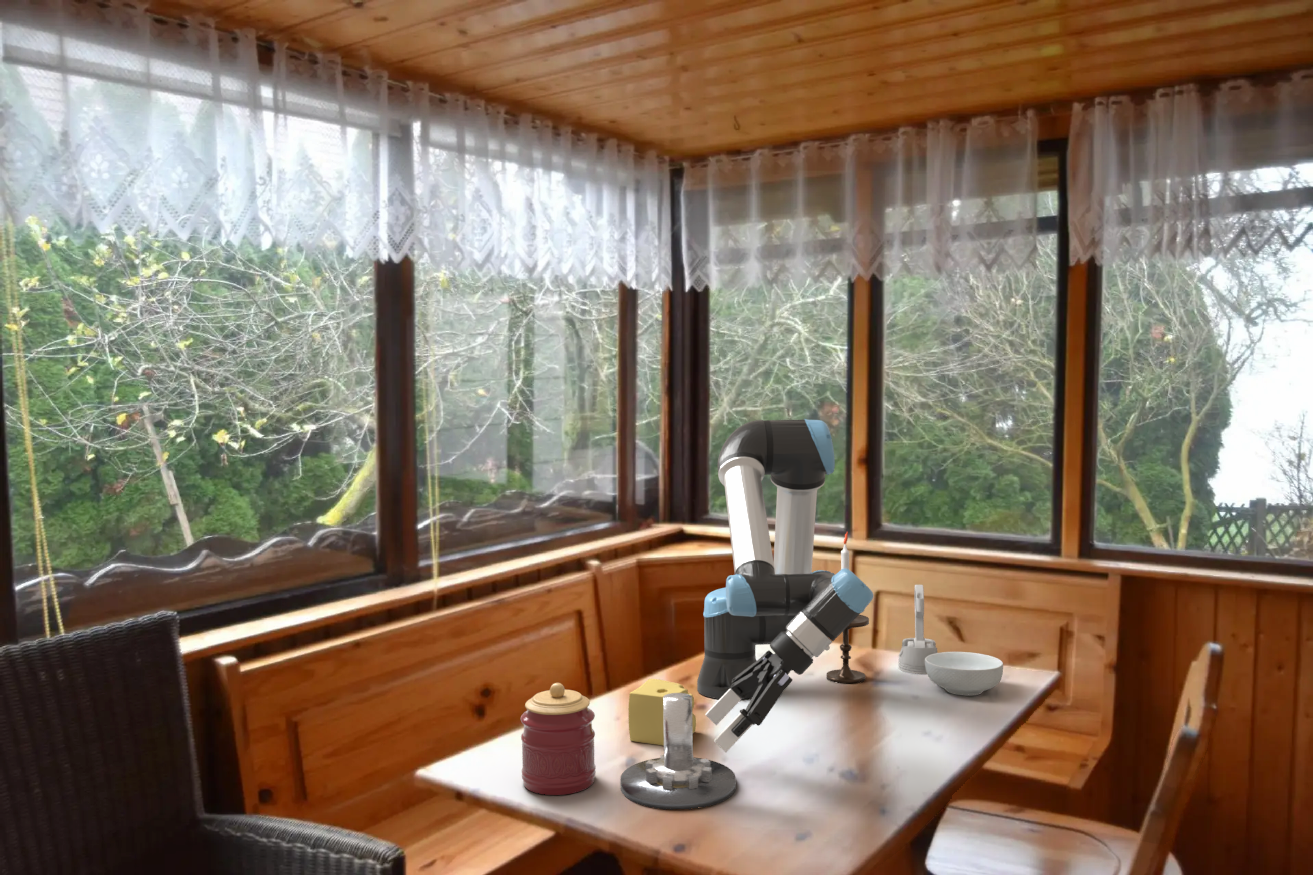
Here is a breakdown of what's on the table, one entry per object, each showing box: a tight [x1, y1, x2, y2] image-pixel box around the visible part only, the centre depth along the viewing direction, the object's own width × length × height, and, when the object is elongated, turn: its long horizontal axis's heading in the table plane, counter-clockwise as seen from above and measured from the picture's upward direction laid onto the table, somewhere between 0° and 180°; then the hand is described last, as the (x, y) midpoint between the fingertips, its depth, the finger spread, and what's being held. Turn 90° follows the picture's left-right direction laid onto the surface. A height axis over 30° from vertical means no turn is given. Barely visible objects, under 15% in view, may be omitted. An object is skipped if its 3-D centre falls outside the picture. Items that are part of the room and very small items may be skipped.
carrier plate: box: [619, 756, 737, 811], centre depth 174 cm, size 20×20×2 cm
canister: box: [520, 682, 597, 796], centre depth 176 cm, size 13×13×18 cm
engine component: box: [898, 584, 939, 675], centre depth 245 cm, size 11×20×10 cm
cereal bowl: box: [925, 651, 1004, 696], centre depth 227 cm, size 17×17×7 cm
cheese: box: [628, 678, 697, 747], centre depth 199 cm, size 10×11×10 cm
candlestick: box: [826, 531, 870, 685], centre depth 237 cm, size 11×11×35 cm
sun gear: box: [646, 693, 712, 790], centre depth 174 cm, size 12×12×14 cm
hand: (714, 732), depth 174 cm, fingers open, 13 cm apart
